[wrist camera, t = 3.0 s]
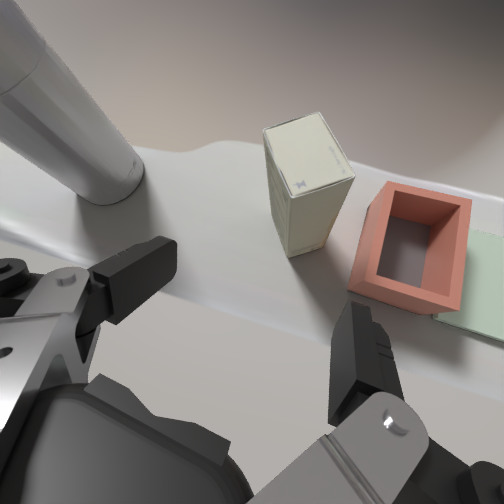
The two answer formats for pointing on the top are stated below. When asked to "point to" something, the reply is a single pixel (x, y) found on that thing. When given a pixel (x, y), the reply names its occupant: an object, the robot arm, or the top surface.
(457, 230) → the bin
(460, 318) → the pad
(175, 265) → the robot arm
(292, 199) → the skincare box
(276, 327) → the top surface
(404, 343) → the top surface
